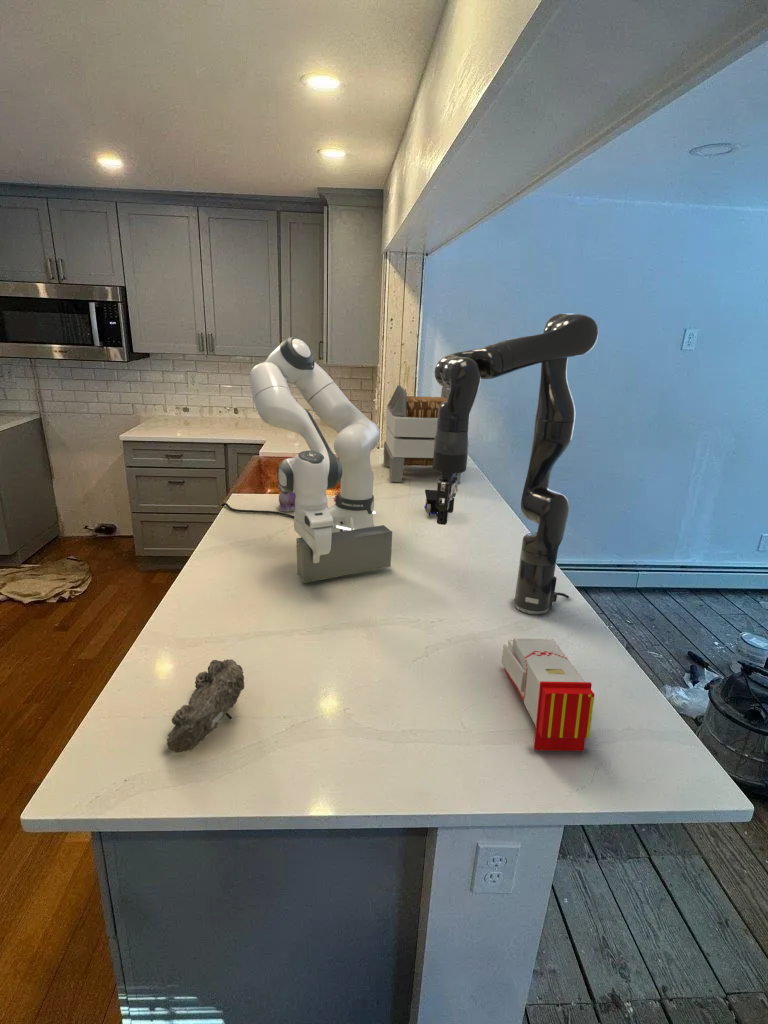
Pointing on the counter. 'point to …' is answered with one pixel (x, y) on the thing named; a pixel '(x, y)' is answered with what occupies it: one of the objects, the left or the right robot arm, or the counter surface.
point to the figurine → (286, 500)
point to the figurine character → (431, 502)
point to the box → (346, 554)
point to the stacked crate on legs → (411, 431)
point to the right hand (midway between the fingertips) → (445, 517)
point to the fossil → (206, 705)
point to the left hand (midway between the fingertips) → (311, 557)
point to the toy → (550, 693)
